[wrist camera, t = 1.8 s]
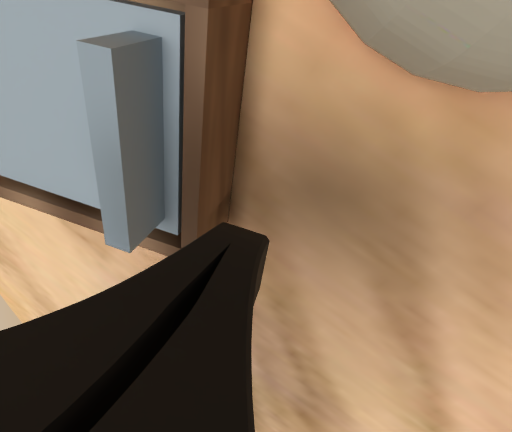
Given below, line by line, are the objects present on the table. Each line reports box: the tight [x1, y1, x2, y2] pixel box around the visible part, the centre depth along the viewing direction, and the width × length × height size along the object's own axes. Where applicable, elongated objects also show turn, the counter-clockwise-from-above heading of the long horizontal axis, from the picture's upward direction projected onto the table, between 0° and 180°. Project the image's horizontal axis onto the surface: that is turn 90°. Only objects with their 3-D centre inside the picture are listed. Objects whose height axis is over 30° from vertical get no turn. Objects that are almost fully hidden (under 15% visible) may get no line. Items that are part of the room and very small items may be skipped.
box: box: [0, 0, 253, 256], centre depth 17 cm, size 14×12×4 cm
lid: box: [0, 0, 185, 253], centre depth 15 cm, size 11×10×4 cm
